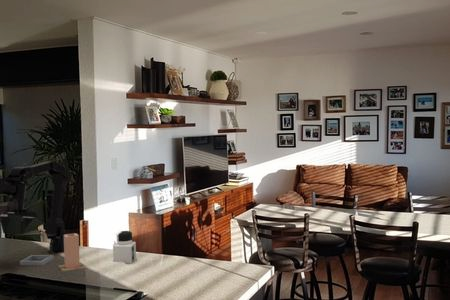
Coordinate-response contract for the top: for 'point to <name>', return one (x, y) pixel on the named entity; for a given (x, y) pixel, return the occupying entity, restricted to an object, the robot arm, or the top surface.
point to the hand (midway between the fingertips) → (12, 233)
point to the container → (124, 248)
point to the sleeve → (71, 250)
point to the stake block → (71, 268)
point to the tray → (34, 257)
